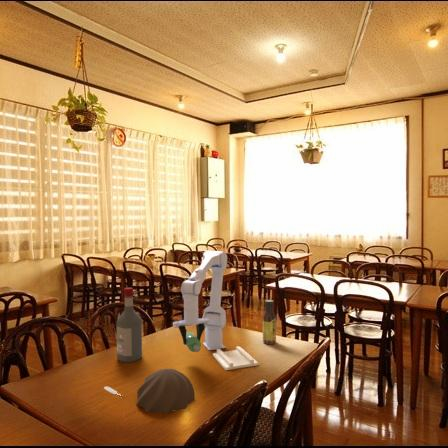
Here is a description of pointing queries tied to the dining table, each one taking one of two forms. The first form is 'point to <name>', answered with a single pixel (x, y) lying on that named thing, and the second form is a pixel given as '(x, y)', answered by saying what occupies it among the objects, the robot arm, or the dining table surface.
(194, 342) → the green bottle
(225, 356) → the bottle cradle
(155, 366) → the dining table surface
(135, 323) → the liquor
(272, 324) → the sauce bottle
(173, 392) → the decorative dome
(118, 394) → the butter knife
